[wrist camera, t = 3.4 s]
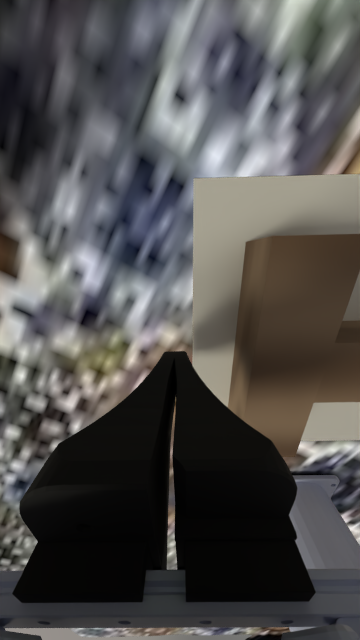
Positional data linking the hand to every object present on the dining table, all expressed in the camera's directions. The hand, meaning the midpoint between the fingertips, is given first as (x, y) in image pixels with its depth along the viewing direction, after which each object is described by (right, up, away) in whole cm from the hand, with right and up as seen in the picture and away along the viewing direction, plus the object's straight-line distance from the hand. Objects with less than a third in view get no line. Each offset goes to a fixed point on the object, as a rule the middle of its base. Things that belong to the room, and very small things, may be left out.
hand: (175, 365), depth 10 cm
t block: (+11, +1, +2) cm, 11 cm away
